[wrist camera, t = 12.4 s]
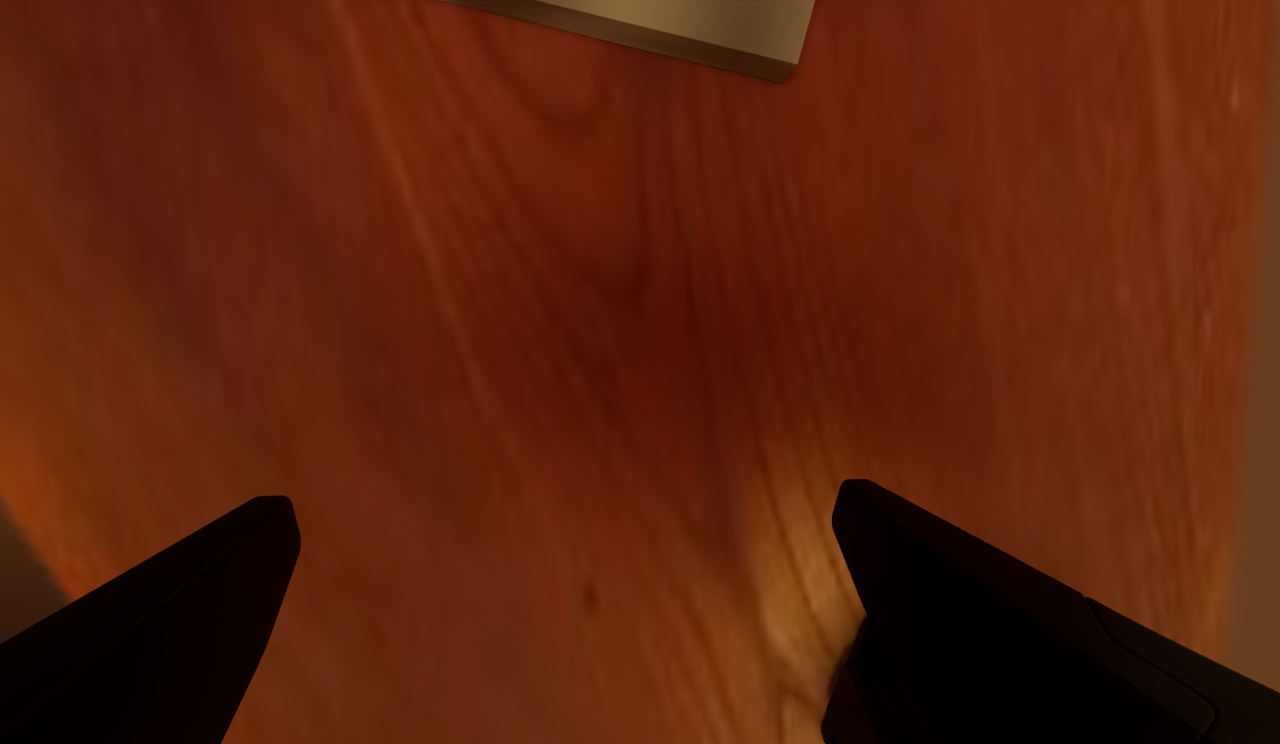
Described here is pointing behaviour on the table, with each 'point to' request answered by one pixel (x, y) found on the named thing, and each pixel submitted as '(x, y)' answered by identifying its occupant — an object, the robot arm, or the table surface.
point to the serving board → (681, 28)
